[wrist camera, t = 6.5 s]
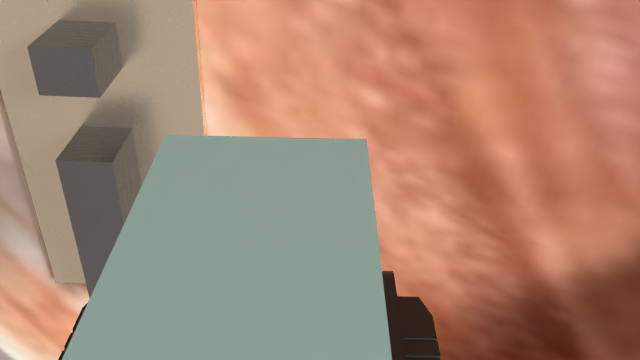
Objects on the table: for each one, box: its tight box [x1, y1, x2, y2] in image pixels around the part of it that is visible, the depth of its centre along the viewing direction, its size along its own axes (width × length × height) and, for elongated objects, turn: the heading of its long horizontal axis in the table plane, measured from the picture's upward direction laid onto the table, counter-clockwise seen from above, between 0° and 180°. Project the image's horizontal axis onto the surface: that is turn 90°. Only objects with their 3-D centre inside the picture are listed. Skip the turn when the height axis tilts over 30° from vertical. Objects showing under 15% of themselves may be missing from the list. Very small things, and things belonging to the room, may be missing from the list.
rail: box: [0, 0, 207, 297], centre depth 25 cm, size 28×9×4 cm, turn 178°
